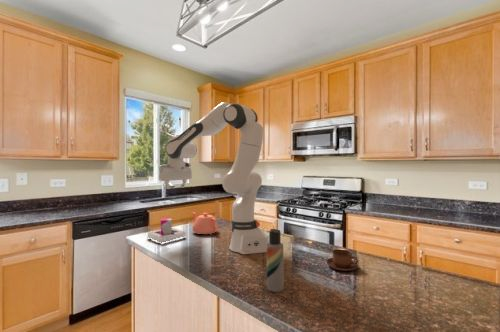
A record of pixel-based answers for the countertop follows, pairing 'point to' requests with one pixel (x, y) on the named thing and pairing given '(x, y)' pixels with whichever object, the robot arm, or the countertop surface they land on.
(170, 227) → the supplement box
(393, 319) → the countertop surface
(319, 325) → the countertop surface
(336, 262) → the cup and saucer
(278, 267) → the lotion bottle
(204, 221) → the teapot
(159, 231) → the frame
